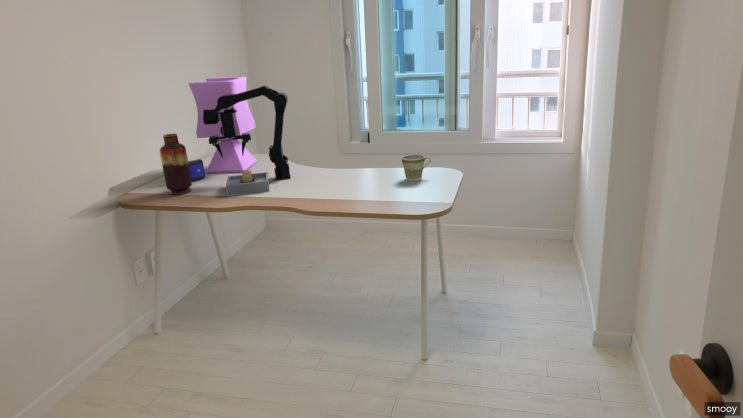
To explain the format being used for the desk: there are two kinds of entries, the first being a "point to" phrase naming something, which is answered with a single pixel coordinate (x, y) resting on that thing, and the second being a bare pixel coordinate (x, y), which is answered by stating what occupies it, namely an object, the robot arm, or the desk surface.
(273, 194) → the desk surface
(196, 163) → the blue screen device
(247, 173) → the connector plug
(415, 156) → the ceramic cup
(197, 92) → the lavender hourglass shape
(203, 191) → the desk surface
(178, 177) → the vase
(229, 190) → the grey socket tray
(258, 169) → the desk surface
